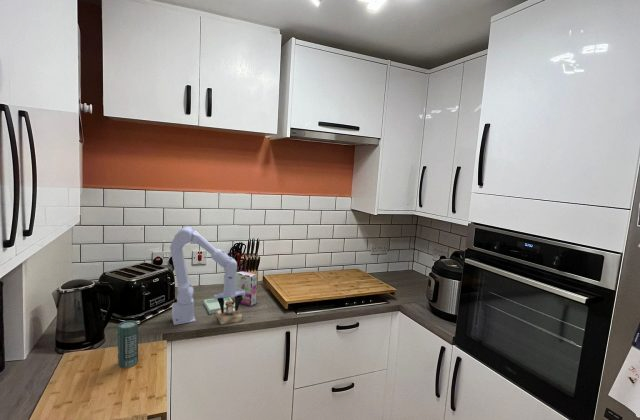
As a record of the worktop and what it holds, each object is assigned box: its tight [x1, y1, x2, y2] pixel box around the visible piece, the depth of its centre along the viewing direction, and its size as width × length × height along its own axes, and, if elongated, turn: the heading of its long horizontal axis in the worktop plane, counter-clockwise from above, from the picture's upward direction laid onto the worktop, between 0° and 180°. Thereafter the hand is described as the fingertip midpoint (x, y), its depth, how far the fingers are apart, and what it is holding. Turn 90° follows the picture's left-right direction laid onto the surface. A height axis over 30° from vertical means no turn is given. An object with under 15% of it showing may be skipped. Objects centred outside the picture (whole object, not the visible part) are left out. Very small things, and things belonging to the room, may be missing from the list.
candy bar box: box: [236, 270, 258, 307], centre depth 184 cm, size 11×5×16 cm, turn 62°
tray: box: [203, 297, 235, 315], centre depth 177 cm, size 13×13×2 cm
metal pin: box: [225, 300, 235, 316], centre depth 165 cm, size 4×4×8 cm
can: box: [117, 320, 139, 369], centre depth 124 cm, size 6×6×15 cm
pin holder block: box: [215, 308, 243, 325], centre depth 165 cm, size 10×10×2 cm
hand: (229, 311), depth 165 cm, fingers open, 6 cm apart
